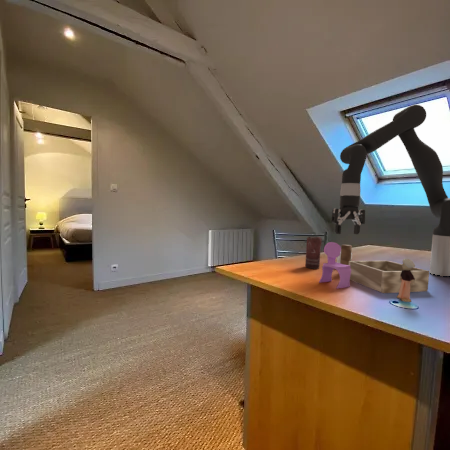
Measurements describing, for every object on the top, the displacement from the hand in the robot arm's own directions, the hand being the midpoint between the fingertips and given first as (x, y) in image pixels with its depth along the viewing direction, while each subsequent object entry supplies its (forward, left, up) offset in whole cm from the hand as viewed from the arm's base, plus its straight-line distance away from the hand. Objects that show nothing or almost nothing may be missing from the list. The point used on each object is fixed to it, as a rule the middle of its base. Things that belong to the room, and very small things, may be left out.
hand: (347, 234), depth 118 cm
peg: (0, 0, -17) cm, 17 cm away
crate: (-5, +17, -17) cm, 24 cm away
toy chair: (+15, +15, -17) cm, 27 cm away
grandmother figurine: (+3, +33, -17) cm, 37 cm away
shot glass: (-8, -12, -17) cm, 22 cm away
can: (+8, -12, -17) cm, 22 cm away
